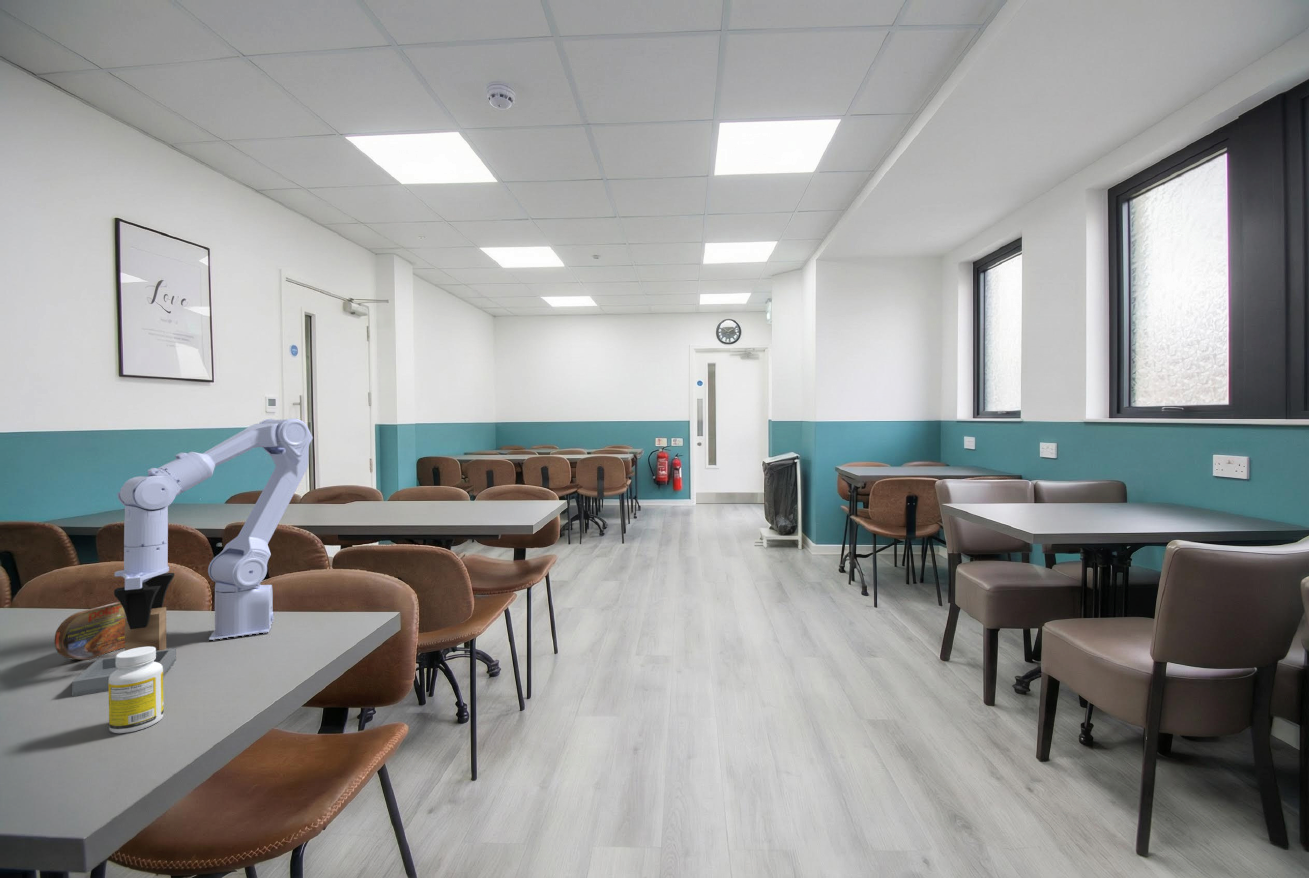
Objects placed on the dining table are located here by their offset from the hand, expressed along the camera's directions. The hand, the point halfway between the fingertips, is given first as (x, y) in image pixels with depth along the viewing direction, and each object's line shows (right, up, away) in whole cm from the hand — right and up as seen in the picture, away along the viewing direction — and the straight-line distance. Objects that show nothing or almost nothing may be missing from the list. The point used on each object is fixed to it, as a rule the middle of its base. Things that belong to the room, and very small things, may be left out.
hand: (145, 621), depth 98 cm
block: (0, -6, 0) cm, 6 cm away
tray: (+5, -6, -8) cm, 11 cm away
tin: (-10, -7, +4) cm, 13 cm away
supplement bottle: (+20, -6, -23) cm, 31 cm away
